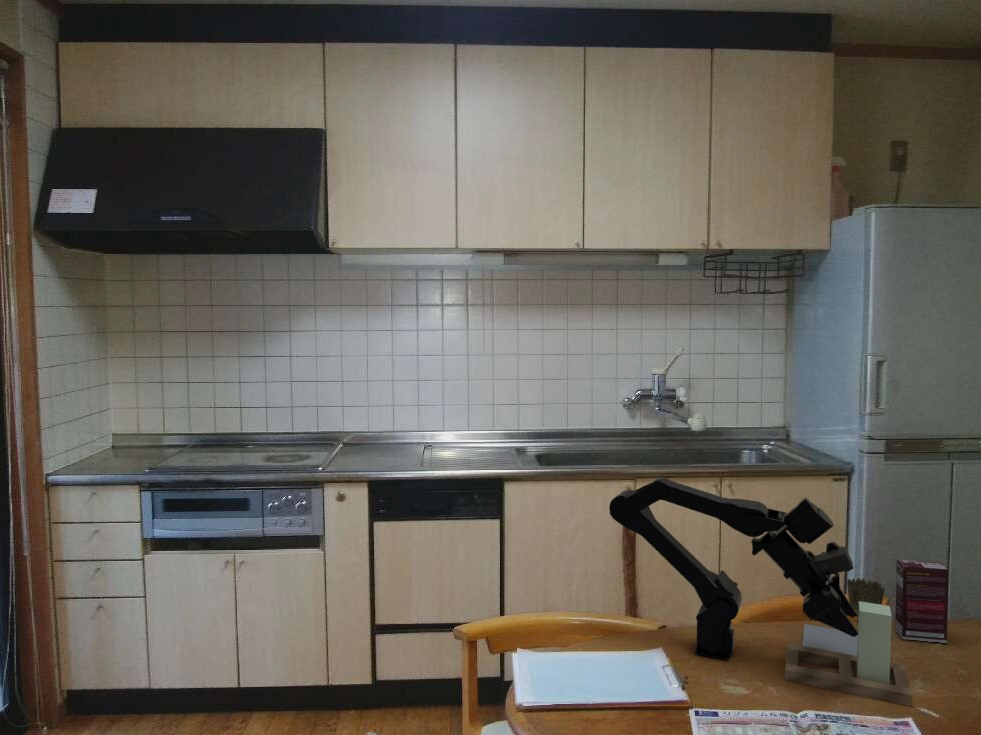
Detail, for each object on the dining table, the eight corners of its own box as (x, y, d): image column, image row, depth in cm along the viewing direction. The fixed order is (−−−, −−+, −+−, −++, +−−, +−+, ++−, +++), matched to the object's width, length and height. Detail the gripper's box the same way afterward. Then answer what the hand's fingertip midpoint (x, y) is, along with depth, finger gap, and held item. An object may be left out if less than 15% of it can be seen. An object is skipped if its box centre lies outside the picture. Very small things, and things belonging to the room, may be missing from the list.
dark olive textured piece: (888, 626, 150) (889, 590, 150) (851, 623, 152) (853, 588, 152) (876, 613, 158) (877, 578, 157) (841, 610, 159) (842, 576, 159)
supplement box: (938, 634, 146) (940, 561, 146) (947, 645, 142) (950, 569, 141) (893, 630, 148) (895, 558, 148) (901, 640, 144) (903, 565, 143)
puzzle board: (784, 680, 127) (784, 669, 127) (788, 652, 138) (788, 643, 138) (910, 706, 118) (911, 695, 118) (904, 675, 129) (904, 664, 129)
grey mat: (802, 651, 139) (802, 646, 139) (804, 628, 149) (804, 623, 149) (870, 664, 133) (870, 659, 133) (867, 639, 144) (867, 634, 144)
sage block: (857, 686, 125) (859, 610, 124) (856, 674, 130) (858, 601, 129) (889, 692, 123) (891, 616, 122) (887, 680, 127) (889, 606, 127)
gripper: (824, 546, 120) (896, 619, 116) (825, 520, 137) (888, 583, 133) (775, 583, 124) (842, 656, 120) (781, 553, 141) (841, 616, 136)
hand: (855, 625), depth 127 cm, fingers open, 9 cm apart
